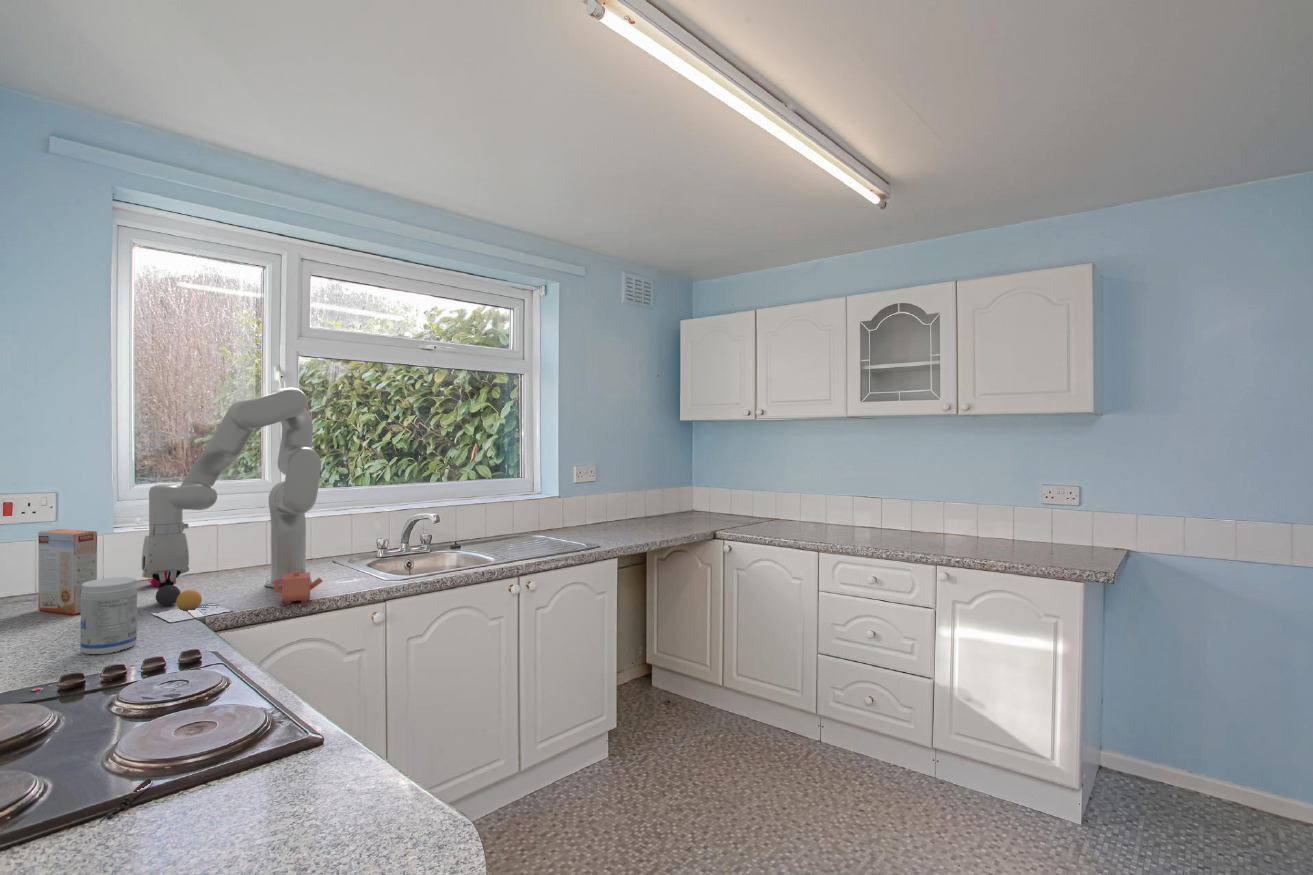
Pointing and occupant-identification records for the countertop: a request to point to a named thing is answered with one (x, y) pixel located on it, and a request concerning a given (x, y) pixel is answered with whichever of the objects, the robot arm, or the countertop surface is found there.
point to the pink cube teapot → (295, 587)
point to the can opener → (126, 800)
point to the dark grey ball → (167, 595)
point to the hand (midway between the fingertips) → (166, 596)
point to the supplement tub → (108, 615)
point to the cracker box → (65, 568)
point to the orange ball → (188, 600)
